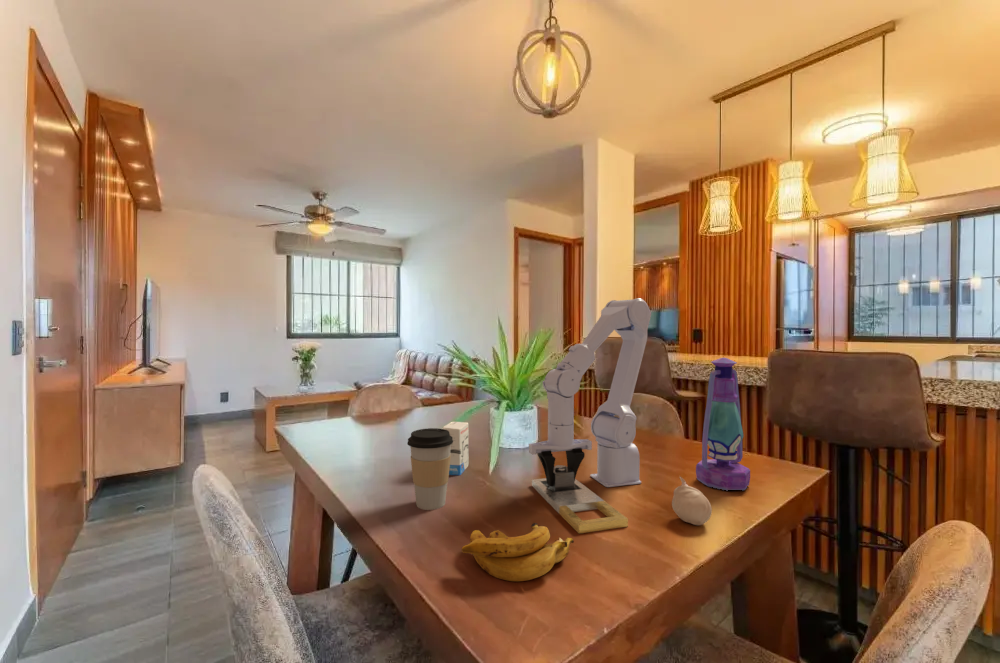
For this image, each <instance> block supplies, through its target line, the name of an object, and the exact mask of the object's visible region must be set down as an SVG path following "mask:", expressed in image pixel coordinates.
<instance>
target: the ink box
mask: <svg viewBox="0 0 1000 663" xmlns="http://www.w3.org/2000/svg"><path fill="white" fill-rule="evenodd" d="M442 429H445V430H448V431H449V433H450V436H452V438H453V439H452V440H453V443H452V444H451V450H450V454H451V458H450V468H449V476H461V475H462V474H463V473H464V472H465V471H466V469H467V468H468V467H469V464H470V463H469V461H470V460H469V459H470V458H469V422H465V421H464V422H463V421H451V422H448V423H447V424H446V425H444V426H443V427H442Z"/></svg>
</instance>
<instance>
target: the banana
mask: <svg viewBox="0 0 1000 663" xmlns="http://www.w3.org/2000/svg"><path fill="white" fill-rule="evenodd" d="M530 527H531V529H532V530H531V531H530V532H528V533H526V534H523V535H519V536H508V535H506V534H505V533H504V532H503V531H501V530H499V529H498V530H493V531H491V532H490V533H489V536H488V537H486V535H485V534H483V533H482V532H481V531H480V530H479V529H475V530H473V531H472V532H471V533H470V536H469V543H468V544H466V545H463V546H462V548H461V552H462V553H463V554H471V555H472V556H473V558H474V559H475V561H476V562H477V564H478V565H479V566H480V567H481V569H482V570H484V572H486V573H487V574H488V575H491V576H492V577H494V578H497V579H499V580H504V581H509V582H524V581H525V582H527V581H530V580H533V579H537V578H540V577H541V576H543V575H546V574H547V573H548V572H550V571H551V569H553V567H554V565H555V564H558V563H559V562H561V561H563V560H564V559H565V558H566V557H568V554H569V552H570V545H571V543H572V544H574V542H575V541H574V539H573V538H572V537H566V539H564V540H563V539H562V538H561V537H558V540H557V539H555V541H554V542H552V543H548V542H549V540H550V538H551V534H550V530H549V528H548V527H547V526H544V525H540V526H538V523H537V522H533V523H532V524H531V526H530Z"/></svg>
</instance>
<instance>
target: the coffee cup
mask: <svg viewBox="0 0 1000 663" xmlns="http://www.w3.org/2000/svg"><path fill="white" fill-rule="evenodd" d="M452 439H453V438H452V436H450V433H449V431H448V430H445V429H443V428H437V427H436V428H435V427H434V428H432V427H430V428H420V429H417V430H414V431H411V433H410V437H409V438H407V445H408V446H409V447H410V463H411V474H412V483H413V487H414V497H415V506H416V507H417V508H418V509H420V510H423V511H434V510H438V509H440V508H443V507H444V506H446V498H447V488H448V482H449V476H450V475H449V468H450V458H451V454H450V450H451V444H452V443H453V440H452Z"/></svg>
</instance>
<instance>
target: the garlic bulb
mask: <svg viewBox="0 0 1000 663" xmlns="http://www.w3.org/2000/svg"><path fill="white" fill-rule="evenodd" d="M679 480H680V481H681V485H678V486H677V487H676V488H674V490H673V497H672V501H671V506H672V509H673V511H674V513H675V514H676V515H677V516H678V518H680V520H682V521H683V522H686V523H689V524H692V525H693V526H702V525H704V524H705V523H706V522H708V521H709V519H710V518H711V516H712V513H713V512H712V511H713V510H712V505H711V502H710V501H709V499H708V498H707V497H706V496H705V495H704V493H703V492H702V491H701V490H699V489H697V488H696V487H693V486H690V485H688V483H687V482H686V480H685V479H684V478H683V477H682V476H681V475H679Z"/></svg>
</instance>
